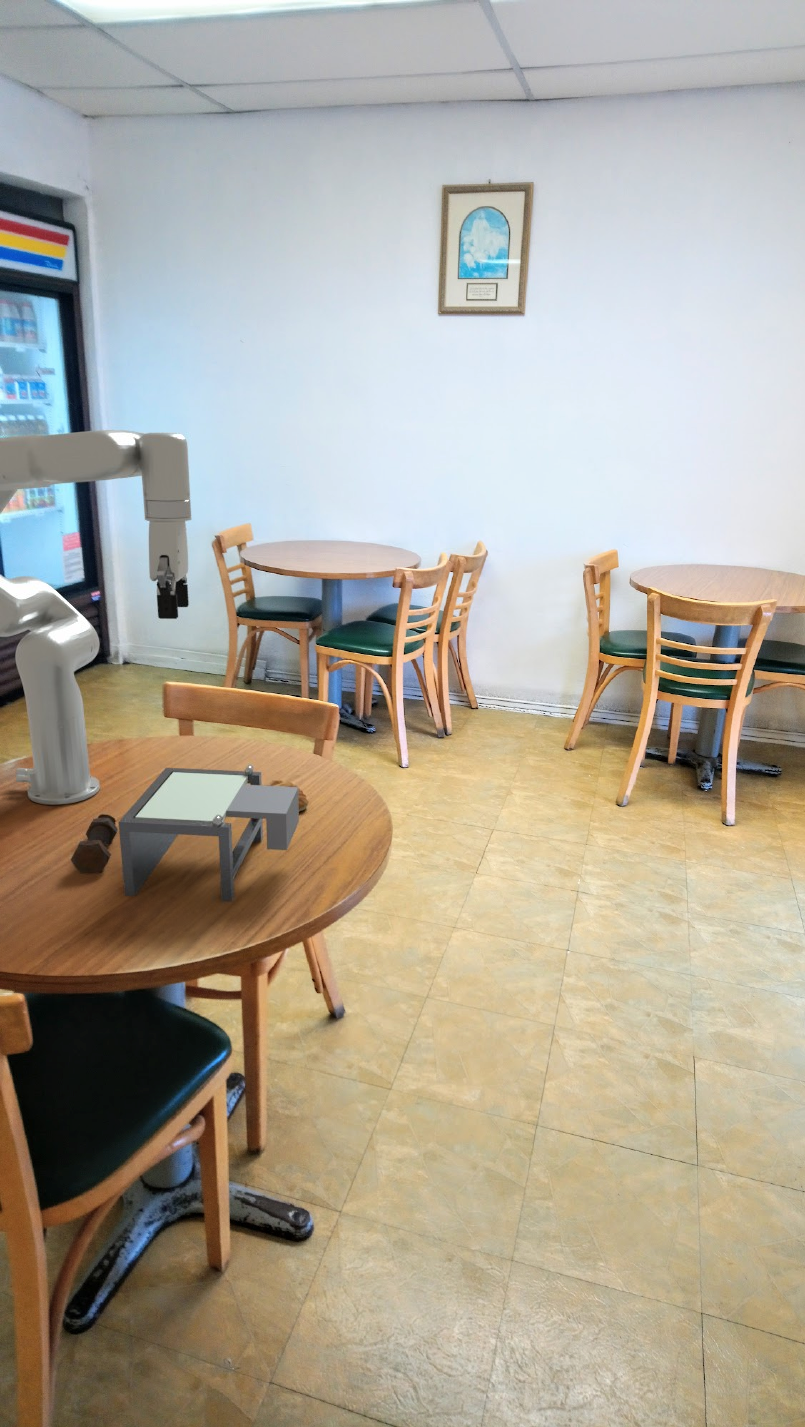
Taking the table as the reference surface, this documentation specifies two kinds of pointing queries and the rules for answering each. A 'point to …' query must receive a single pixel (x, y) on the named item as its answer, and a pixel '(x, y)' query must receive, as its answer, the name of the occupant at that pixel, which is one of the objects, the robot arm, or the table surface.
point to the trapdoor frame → (155, 836)
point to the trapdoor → (226, 803)
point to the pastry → (302, 798)
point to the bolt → (95, 846)
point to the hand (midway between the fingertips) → (174, 612)
